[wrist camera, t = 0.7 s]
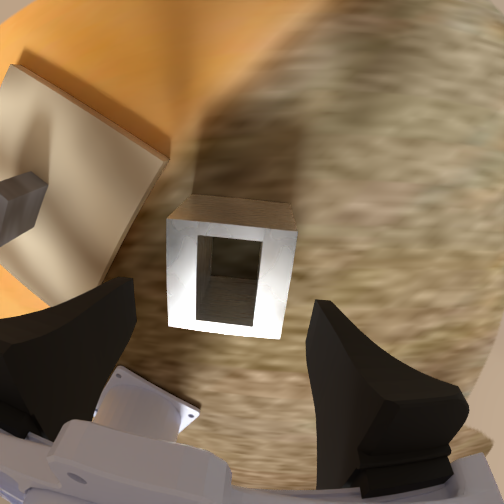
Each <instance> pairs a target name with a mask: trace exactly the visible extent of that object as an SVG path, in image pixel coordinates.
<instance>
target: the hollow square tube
mask: <svg viewBox="0 0 504 504" xmlns="http://www.w3.org/2000/svg"><path fill="white" fill-rule="evenodd" d="M297 235H298V230H297V227H296V223H295V220H294V216H293V213H292V209H291V206H290V204H289V203H280V202H271V201H262V200H252V199H243V198H232V197H222V196H211V195H199V194H191V195H190V196H189V197H188V198H187V199H186V200H185V201H184V202H183V203H182V204H181V205H180V206H179V207H178V208H177V209H176V210H175V211H174V212H173V213H172V214H171V215H169V216H168V217H167V218H166V265H167V303H168V326H171V327H178V328H185V329H192V330H199V331H207V332H215V333H223V334H232V335H241V336H250V337H260V338H271V339H280V336H281V330H282V325H283V319H284V314H285V308H286V302H287V296H288V291H289V285H290V279H291V273H292V266H293V260H294V254H295V248H296V241H297ZM213 236H214V237H224V238H233V239H243V240H252V241H261V242H260V251H259V260H258V268H257V277H256V280H251V279H242V278H233V277H224V276H215V275H211V270H212V250H213Z"/></svg>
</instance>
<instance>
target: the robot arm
mask: <svg viewBox="0 0 504 504" xmlns="http://www.w3.org/2000/svg"><path fill="white" fill-rule="evenodd" d="M136 322H137V318H136V308H135V298H134V286H133V278H126V277H117V278H114V279H112V280H110V281H107V282H105V283H103V284H101V285H99V286H97V287H95V288H93V289H91V290H89V291H87V292H85V293H83V294H81V295H79V296H77V297H74V298H72V299H70V300H68V301H65V302H63V303H61V304H58V305H56V306H53V307H50V308H47V309H44V310H41V311H37V312H33V313H29V314H25V315H21V316H16V317H11V318H4V319H0V496H1V497H2V498H4V499H5V500H7V501H9V502H10V503H11V504H504V502H503V499H502V497H501V494H500V491H499V489H498V486H497V484H496V482H495V479H494V477H493V474H492V472H491V469H490V467H489V465H488V463H487V460H486V458H485V456H484V454H483V453H482V452H480V453H477V454H473V455H470V456H466V457H463V458H459V459H457V460H455V461H453V462H452V463H450V462H449V459H448V457H447V456H449V455H450V454H451V448H450V446H449V442H450V441H451V440H452V439H453V437H454V436H455V435H456V434H457V432H458V431H459V430H460V428H461V427H462V426H463V424H464V423H465V421H466V419H467V417H468V414H469V405H468V403H467V401H466V399H465V398H464V396H463V394H462V392H461V390H460V389H459V387H458V386H455V385H452V384H449V383H446V382H443V381H440V380H438V379H435V378H432V377H430V376H428V375H426V374H423V373H421V372H419V371H417V370H415V369H413V368H411V367H409V366H408V365H406V364H404V363H403V362H401V361H399V360H397V359H396V358H394V357H393V356H391V355H390V354H388V353H387V352H386V351H384V350H383V349H381V348H380V347H379V346H377V345H376V344H375V343H374V342H373V341H371V340H370V339H369V338H368V337H367V336H366V335H364V334H363V333H362V332H361V331H360V330H359V329H358V328H357V327H356V326H355V325H354V324H353V323H352V322H351V321H350V320H349V319H348V318H347V317H346V316H345V315H344V314H343V313H342V312H341V311H340V310H339V309H338V308H337V307H336V305H335V304H333V303H332V302H331V301H328V300H316V299H315V303H314V307H313V312H312V316H311V320H310V325H309V329H308V333H307V338H306V361H307V368H308V373H309V379H310V384H311V389H312V395H313V400H314V406H315V413H316V429H317V486H316V490H268V489H251V488H244V487H240V486H235V485H231V478H232V472H231V470H230V468H229V466H228V464H227V462H225V461H224V460H223V459H221V458H219V457H218V456H216V455H214V454H213V453H211V452H210V451H208V450H204V449H200V448H197V447H193V446H190V445H187V444H181V443H176V440H177V436H178V433H180V432H181V431H182V430H183V429H184V428H185V427H187V426H188V425H189V424H190V423H191V422H192V421H193V420H195V419H196V418H197V417H198V416H199V415H200V410H199V409H198V408H197V407H195V406H193V405H191V404H189V403H187V402H185V401H183V400H181V399H179V398H177V397H175V396H173V395H172V394H170V393H168V392H166V391H164V390H162V389H161V388H159V387H157V386H155V385H154V384H152V383H150V382H148V381H147V380H145V379H143V378H141V377H140V376H138V375H136V374H135V373H133V372H131V371H130V370H128V369H126V368H125V367H123V366H117V367H116V369H115V371H114V373H113V374H112V376H111V378H110V379H109V381H108V383H107V384H106V386H105V388H104V385H105V383H106V381H107V379H108V377H109V376H110V374H111V372H112V370H113V368H114V367H115V365H116V363H117V361H118V360H119V358H120V356H121V354H122V352H123V351H124V349H125V347H126V345H127V344H128V342H129V340H130V337H131V335H132V332H133V330H134V327H135V324H136ZM119 374H120V375H119ZM103 388H104V389H103ZM102 390H103V391H102ZM93 416H94V417H95V418H94V420H93V422H91V421H92V418H93Z"/></svg>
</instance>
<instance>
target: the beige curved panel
mask: <svg viewBox="0 0 504 504" xmlns="http://www.w3.org/2000/svg"><path fill="white" fill-rule="evenodd" d="M169 160H170V159H169V158H167V157H166V156H164V155H163V154H161V153H160V152H158V151H157V150H155V149H154V148H152V147H151V146H149V145H147V144H146V143H144V142H143V141H141V140H140V139H138V138H137V137H135V136H134V135H132V134H131V133H129V132H128V131H126V130H124V129H123V128H121V127H120V126H118V125H117V124H115V123H114V122H112V121H110V120H109V119H107V118H106V117H104V116H103V115H101V114H99V113H98V112H96V111H95V110H93V109H92V108H90V107H88V106H87V105H85V104H84V103H82V102H80V101H79V100H77V99H76V98H74V97H72V96H71V95H69V94H68V93H66V92H64V91H63V90H61V89H60V88H58V87H56V86H55V85H53V84H51V83H50V82H48V81H46V80H45V79H43V78H42V77H40V76H38V75H37V74H35V73H33V72H32V71H30V70H28V69H27V68H25V67H23V66H22V65H14V64H10V66H9V69H8V71H7V73H6V75H5V78H4V80H3V82H2V85H1V87H0V264H1V265H2V266H3V267H4V268H5V269H6V270H7V271H8V272H9V273H11V274H12V275H13V276H14V277H15V278H16V279H17V280H19V281H20V282H21V283H22V284H23V285H24V286H26V287H27V288H28V289H29V290H30V291H32V292H33V293H34V294H35V295H36V296H38V297H39V298H40V299H41V300H43V301H44V302H45V303H46V304H48V305H49V306H50V307H53V306H56V305H58V304H61V303H63V302H65V301H68V300H70V299H72V298H74V297H77V296H79V295H81V294H83V293H85V292H87V291H89V290H91V289H93V288H95V287H97V286H99V285H101V284H102V282H103V280H104V278H105V276H106V274H107V272H108V270H109V268H110V266H111V264H112V262H113V260H114V258H115V256H116V254H117V252H118V250H119V248H120V246H121V244H122V242H123V240H124V238H125V236H126V235H127V233H128V231H129V229H130V227H131V225H132V223H133V222H134V220H135V218H136V216H137V214H138V212H139V211H140V209H141V207H142V205H143V204H144V202H145V200H146V198H147V197H148V195H149V193H150V191H151V190H152V188H153V186H154V185H155V183H156V181H157V180H158V178H159V176H160V175H161V173H162V171H163V170H164V168H165V166H166V165H167V163H168V162H169Z"/></svg>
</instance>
